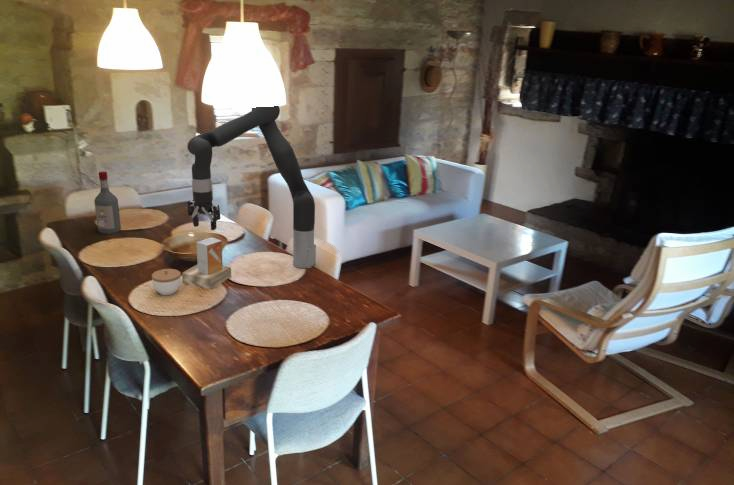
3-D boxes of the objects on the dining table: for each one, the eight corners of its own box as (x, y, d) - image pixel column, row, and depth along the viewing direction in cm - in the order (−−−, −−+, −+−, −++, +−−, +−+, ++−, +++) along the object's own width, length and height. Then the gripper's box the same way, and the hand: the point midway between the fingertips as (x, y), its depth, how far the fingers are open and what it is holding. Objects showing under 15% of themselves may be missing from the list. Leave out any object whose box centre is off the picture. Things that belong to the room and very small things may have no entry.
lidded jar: (152, 299, 221) (150, 276, 218) (154, 287, 231) (152, 265, 227) (181, 296, 224) (180, 274, 221) (182, 285, 234) (180, 264, 230)
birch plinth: (231, 277, 244) (230, 267, 242) (211, 290, 231) (211, 279, 230) (203, 271, 248) (202, 261, 246) (182, 284, 236) (181, 273, 234)
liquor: (113, 234, 283) (105, 175, 273) (95, 232, 284) (88, 173, 274) (123, 228, 292) (116, 171, 281) (106, 227, 293) (99, 169, 282)
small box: (208, 275, 233) (206, 245, 228) (197, 271, 236) (195, 241, 231) (223, 269, 239) (222, 240, 235) (212, 265, 242) (211, 236, 238)
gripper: (223, 189, 226) (225, 228, 232) (194, 184, 232) (196, 222, 237) (210, 194, 220) (213, 233, 226) (181, 188, 225) (184, 227, 231)
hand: (204, 227), depth 231 cm, fingers open, 8 cm apart
